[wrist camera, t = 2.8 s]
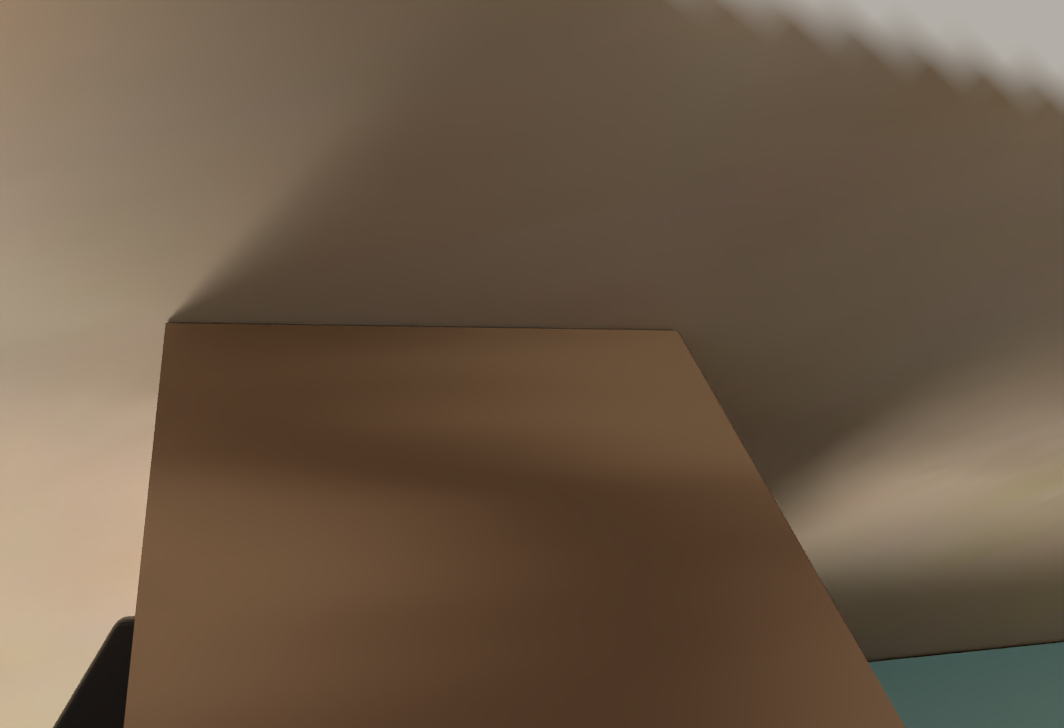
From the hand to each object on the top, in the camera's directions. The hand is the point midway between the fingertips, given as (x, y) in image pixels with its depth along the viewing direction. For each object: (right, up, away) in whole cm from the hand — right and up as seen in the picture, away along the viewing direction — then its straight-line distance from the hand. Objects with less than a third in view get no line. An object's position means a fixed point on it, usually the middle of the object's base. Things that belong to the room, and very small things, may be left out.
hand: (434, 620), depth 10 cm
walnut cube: (0, +1, +1) cm, 2 cm away
